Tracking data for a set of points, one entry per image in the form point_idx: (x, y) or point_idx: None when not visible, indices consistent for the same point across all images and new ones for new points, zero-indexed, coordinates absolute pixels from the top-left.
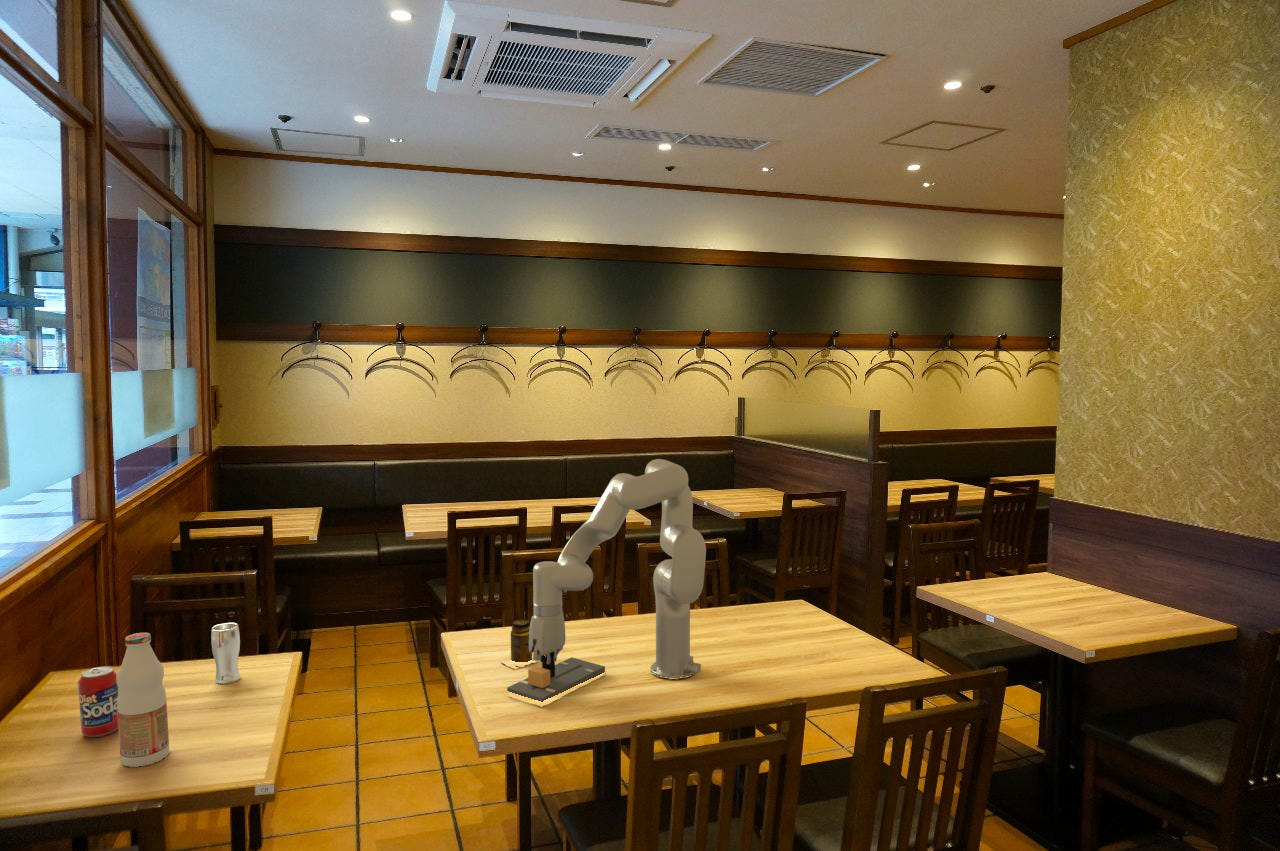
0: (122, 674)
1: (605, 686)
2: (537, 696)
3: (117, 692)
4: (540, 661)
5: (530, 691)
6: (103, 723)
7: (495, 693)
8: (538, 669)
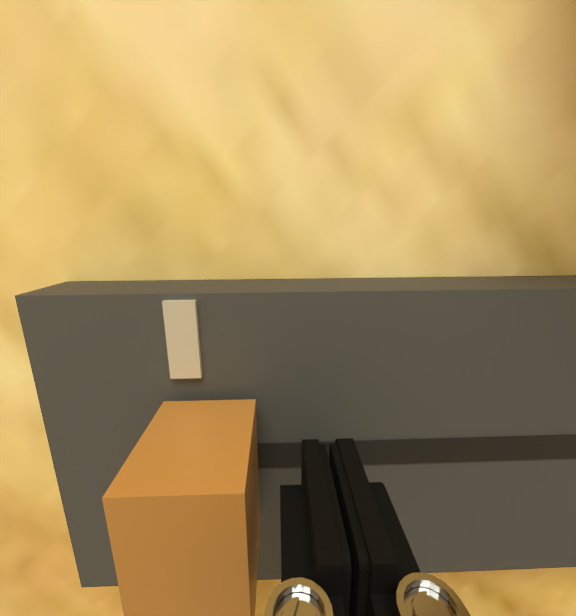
0: None
1: (504, 586)
2: (84, 552)
3: None
4: (268, 605)
5: (103, 475)
6: None
7: (40, 165)
8: (190, 570)
